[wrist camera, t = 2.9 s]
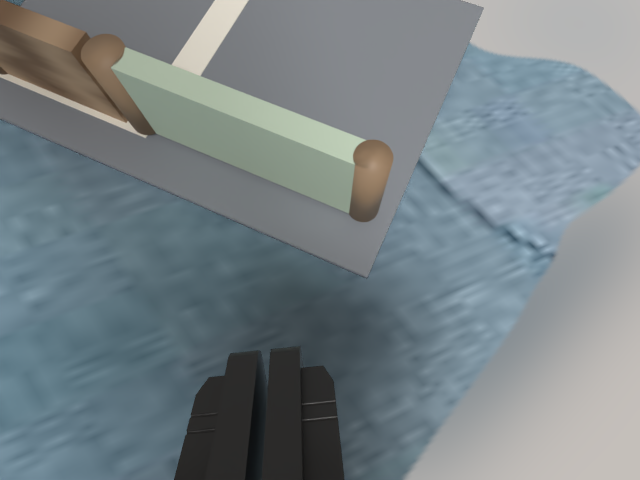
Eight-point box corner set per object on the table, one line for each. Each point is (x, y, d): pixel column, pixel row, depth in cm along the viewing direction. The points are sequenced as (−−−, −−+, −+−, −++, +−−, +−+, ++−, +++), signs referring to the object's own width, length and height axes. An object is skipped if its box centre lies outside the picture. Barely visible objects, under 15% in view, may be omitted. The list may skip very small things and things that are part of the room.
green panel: (125, 127, 30) (72, 60, 24) (143, 100, 31) (96, 28, 24) (370, 229, 27) (382, 184, 21) (384, 197, 28) (401, 144, 22)
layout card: (366, 278, 27) (367, 277, 27) (-50, 97, 32) (-55, 93, 32) (482, 11, 34) (484, 6, 33) (120, -107, 38) (117, -113, 38)
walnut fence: (-12, 69, 32) (-100, -12, 26) (5, 49, 33) (-78, -36, 26) (124, 126, 31) (68, 55, 24) (139, 103, 31) (88, 28, 24)
